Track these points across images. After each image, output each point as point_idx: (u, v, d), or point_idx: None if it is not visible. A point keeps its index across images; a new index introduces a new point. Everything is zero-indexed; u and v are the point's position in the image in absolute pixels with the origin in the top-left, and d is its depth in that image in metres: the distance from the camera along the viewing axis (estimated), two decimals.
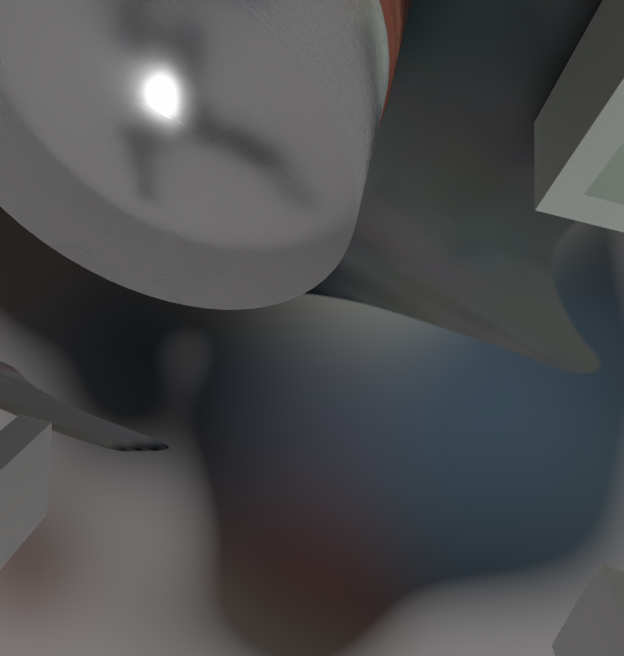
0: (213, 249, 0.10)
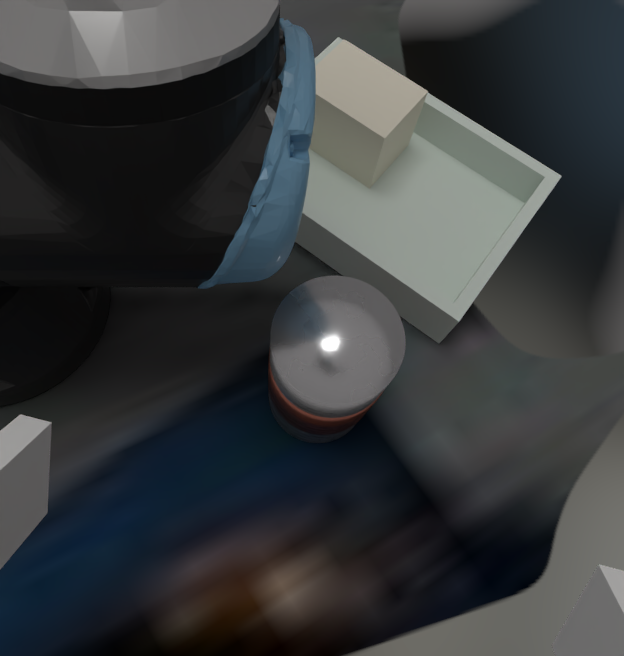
0: (371, 335, 0.27)
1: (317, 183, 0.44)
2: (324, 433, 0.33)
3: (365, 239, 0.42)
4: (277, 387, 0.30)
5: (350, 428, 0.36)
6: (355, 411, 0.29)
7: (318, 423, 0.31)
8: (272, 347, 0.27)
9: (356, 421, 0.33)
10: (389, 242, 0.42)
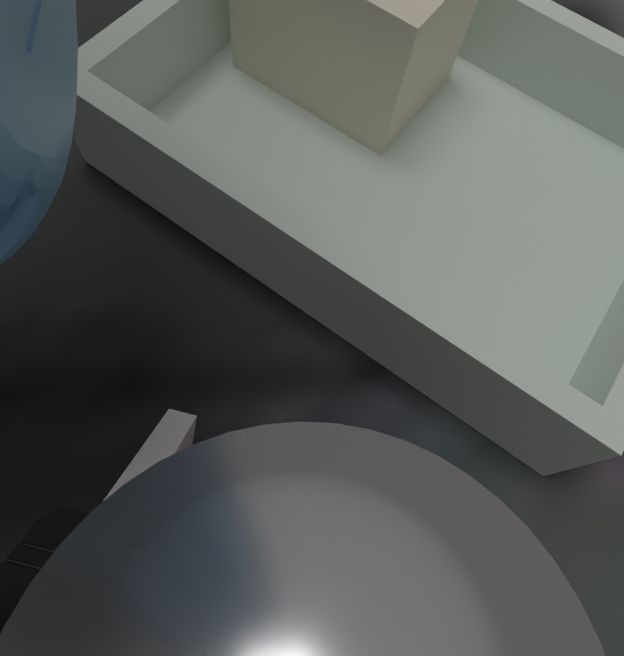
0: None
1: (278, 147, 0.22)
2: None
3: (376, 255, 0.21)
4: None
5: None
6: None
7: None
8: None
9: None
10: (425, 260, 0.21)
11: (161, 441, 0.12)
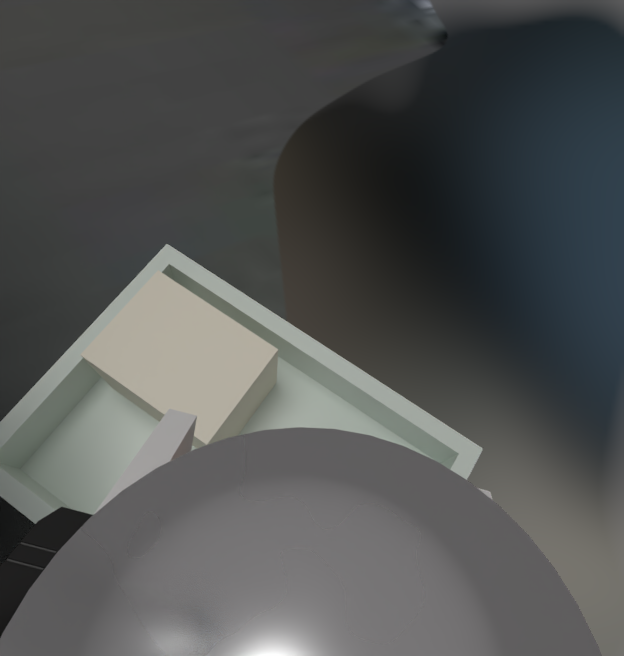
0: None
1: None
2: None
3: None
4: None
5: None
6: None
7: None
8: None
9: None
10: None
11: (161, 441, 0.12)
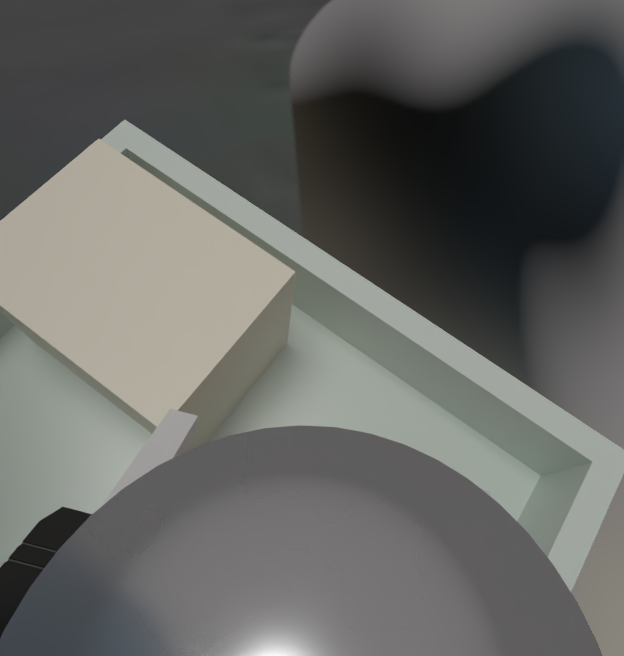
0: None
1: (68, 458, 0.19)
2: None
3: None
4: None
5: None
6: None
7: None
8: None
9: None
10: None
11: (162, 441, 0.12)
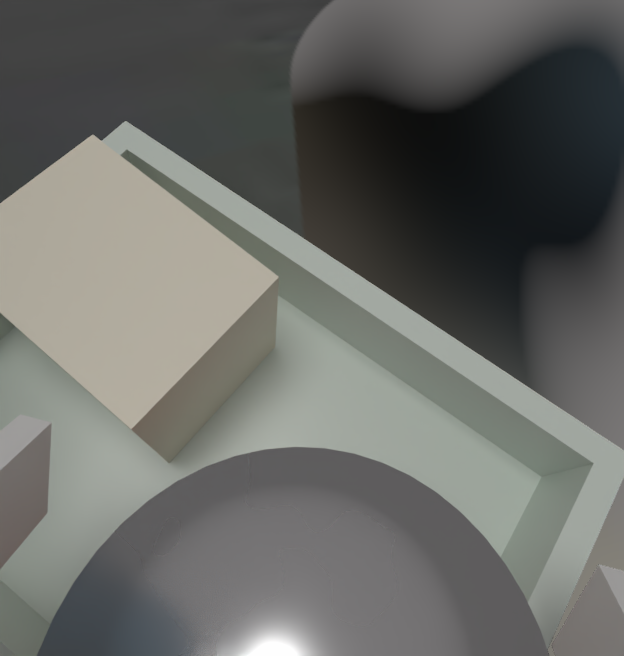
0: None
1: (68, 459, 0.19)
2: None
3: None
4: None
5: None
6: None
7: None
8: None
9: None
10: None
11: None
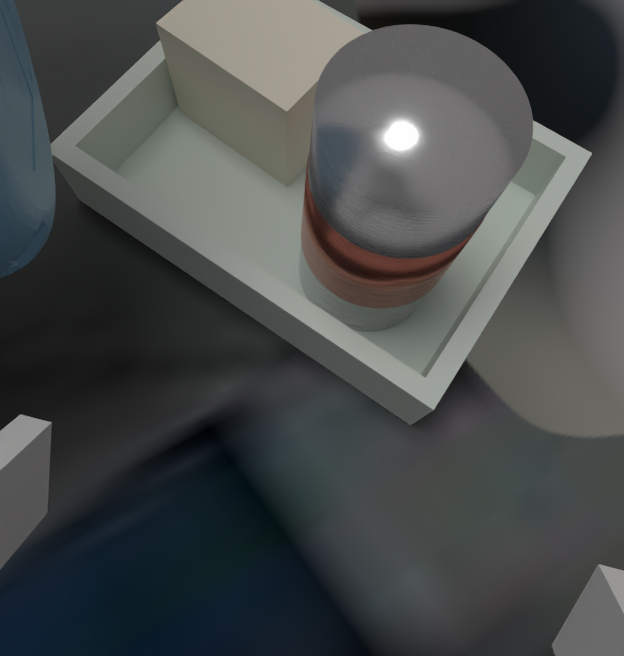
0: (476, 107, 0.17)
1: (223, 185, 0.29)
2: (388, 304, 0.23)
3: (294, 268, 0.28)
4: (324, 219, 0.19)
5: (418, 303, 0.26)
6: (449, 243, 0.19)
7: (386, 277, 0.20)
8: (319, 129, 0.16)
9: (434, 282, 0.23)
10: None
11: None
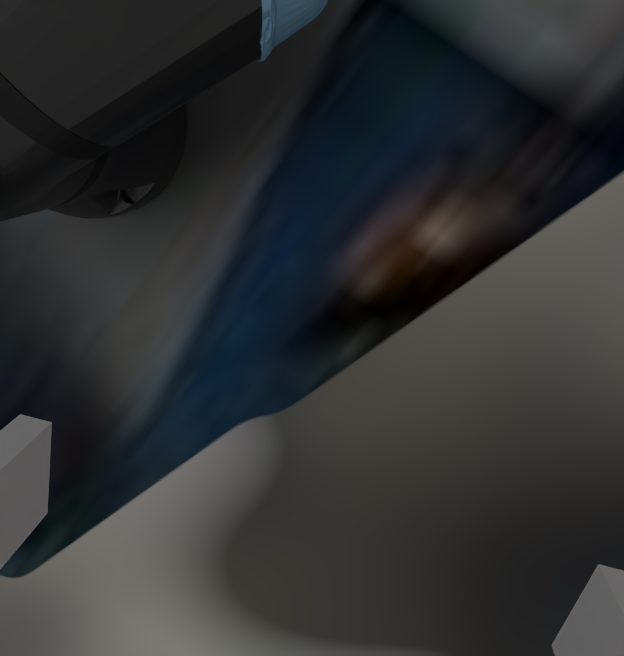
0: None
1: None
2: None
3: None
4: None
5: None
6: None
7: None
8: None
9: None
10: None
11: None
